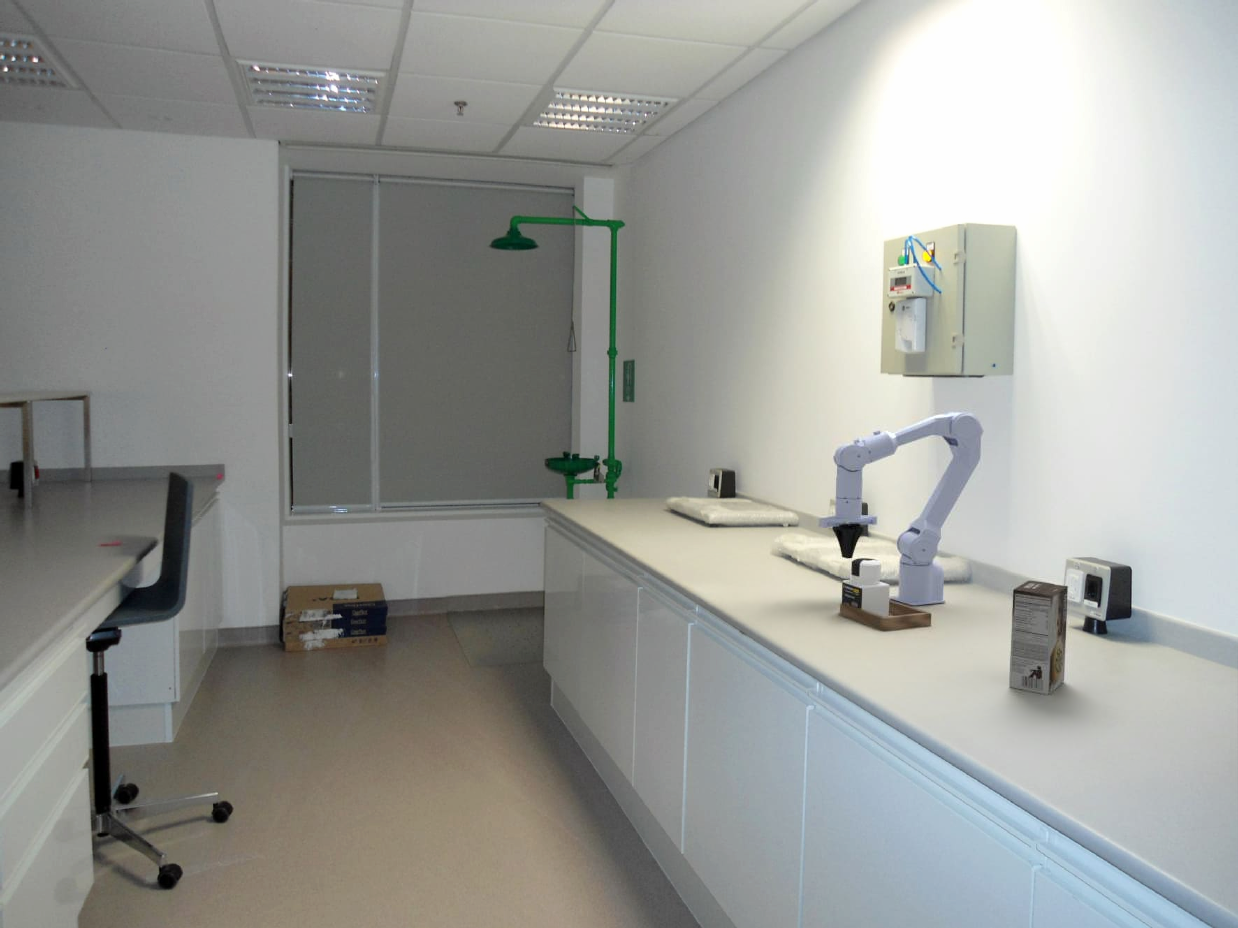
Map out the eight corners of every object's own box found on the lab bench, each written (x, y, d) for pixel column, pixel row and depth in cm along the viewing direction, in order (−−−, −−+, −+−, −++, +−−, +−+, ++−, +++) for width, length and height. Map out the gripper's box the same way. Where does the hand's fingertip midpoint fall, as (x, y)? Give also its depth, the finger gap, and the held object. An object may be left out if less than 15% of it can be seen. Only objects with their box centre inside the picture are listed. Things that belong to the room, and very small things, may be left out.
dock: (885, 610, 201) (885, 598, 201) (930, 625, 188) (931, 613, 188) (839, 615, 196) (840, 603, 196) (883, 630, 184) (883, 618, 183)
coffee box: (1024, 674, 156) (1028, 579, 155) (1065, 681, 152) (1069, 584, 151) (1007, 687, 149) (1011, 588, 148) (1049, 695, 145) (1054, 594, 144)
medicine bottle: (840, 612, 198) (842, 557, 197) (868, 610, 201) (870, 555, 200) (860, 620, 192) (862, 563, 191) (889, 617, 194) (891, 561, 193)
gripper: (863, 494, 214) (861, 552, 215) (811, 496, 209) (809, 556, 210) (883, 497, 208) (881, 557, 209) (830, 500, 202) (828, 562, 203)
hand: (847, 557), depth 209 cm, fingers closed
